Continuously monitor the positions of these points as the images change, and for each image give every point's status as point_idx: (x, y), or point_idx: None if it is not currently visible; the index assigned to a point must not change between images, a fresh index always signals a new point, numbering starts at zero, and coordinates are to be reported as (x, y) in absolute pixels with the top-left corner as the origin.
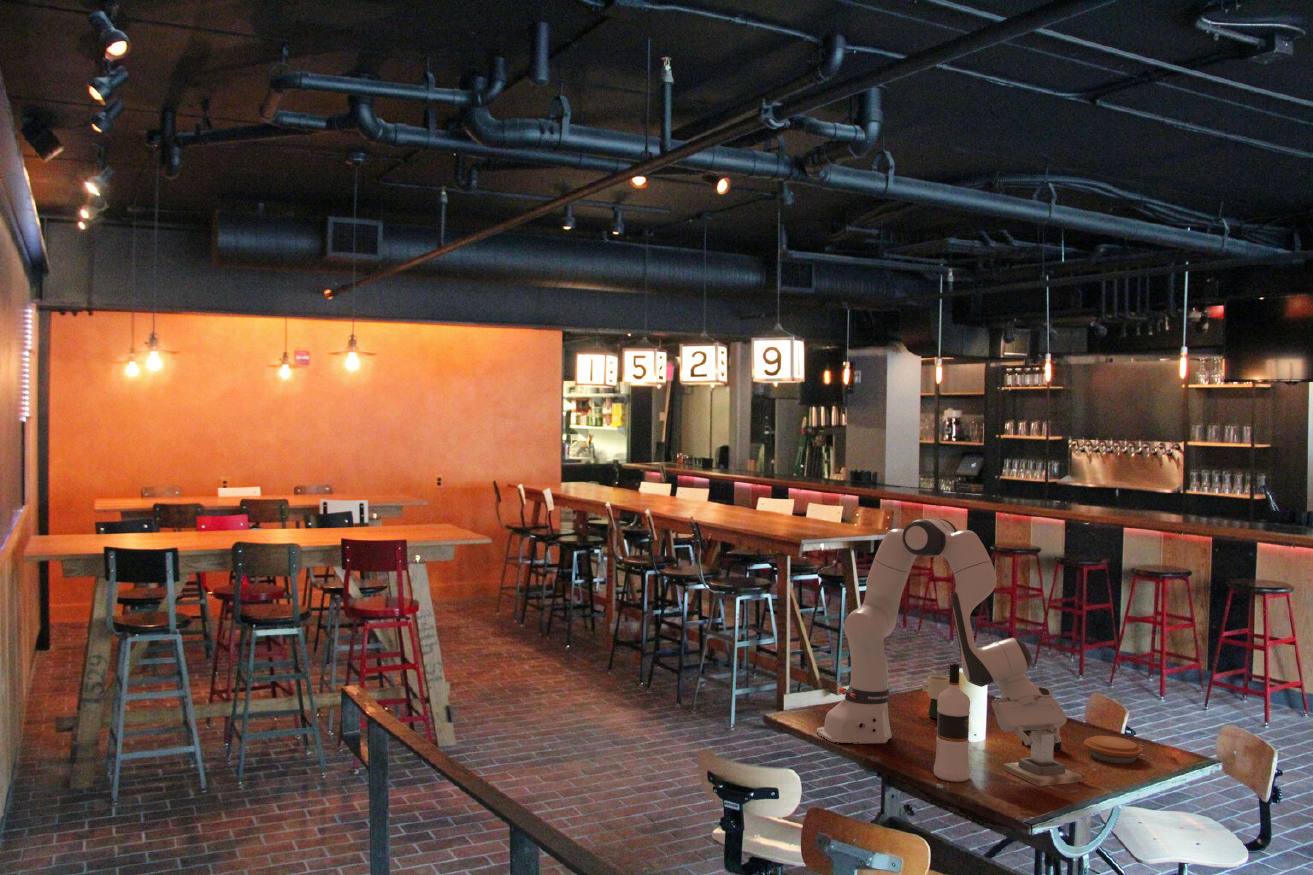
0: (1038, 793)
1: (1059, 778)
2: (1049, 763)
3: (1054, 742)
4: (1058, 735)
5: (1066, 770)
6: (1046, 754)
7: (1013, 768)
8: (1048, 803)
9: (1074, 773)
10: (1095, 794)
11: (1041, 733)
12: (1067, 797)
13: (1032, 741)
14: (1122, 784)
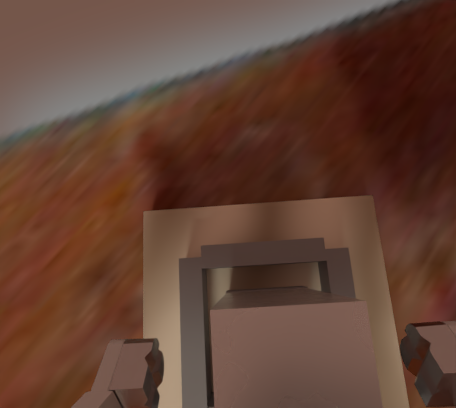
0: (409, 132)
1: (261, 203)
2: (250, 290)
3: (163, 363)
4: (111, 373)
5: (155, 290)
6: (276, 292)
7: (400, 374)
8: (429, 45)
9: (150, 246)
10: (202, 92)
11: (335, 352)
12: (323, 82)
13: (417, 326)
14: (23, 162)
